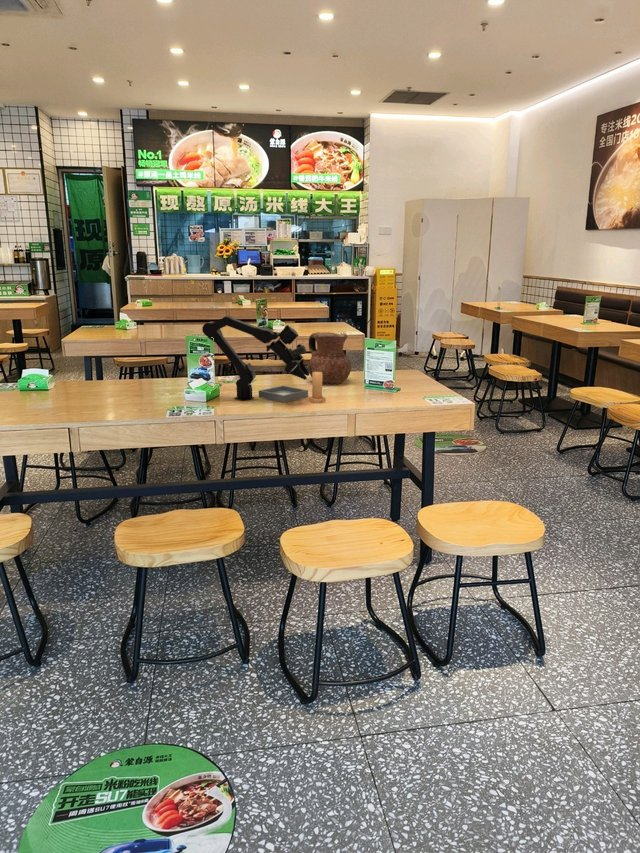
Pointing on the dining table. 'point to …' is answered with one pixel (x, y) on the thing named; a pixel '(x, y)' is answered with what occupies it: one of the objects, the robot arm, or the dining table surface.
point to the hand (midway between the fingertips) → (307, 377)
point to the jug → (329, 357)
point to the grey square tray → (283, 393)
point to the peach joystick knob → (317, 388)
